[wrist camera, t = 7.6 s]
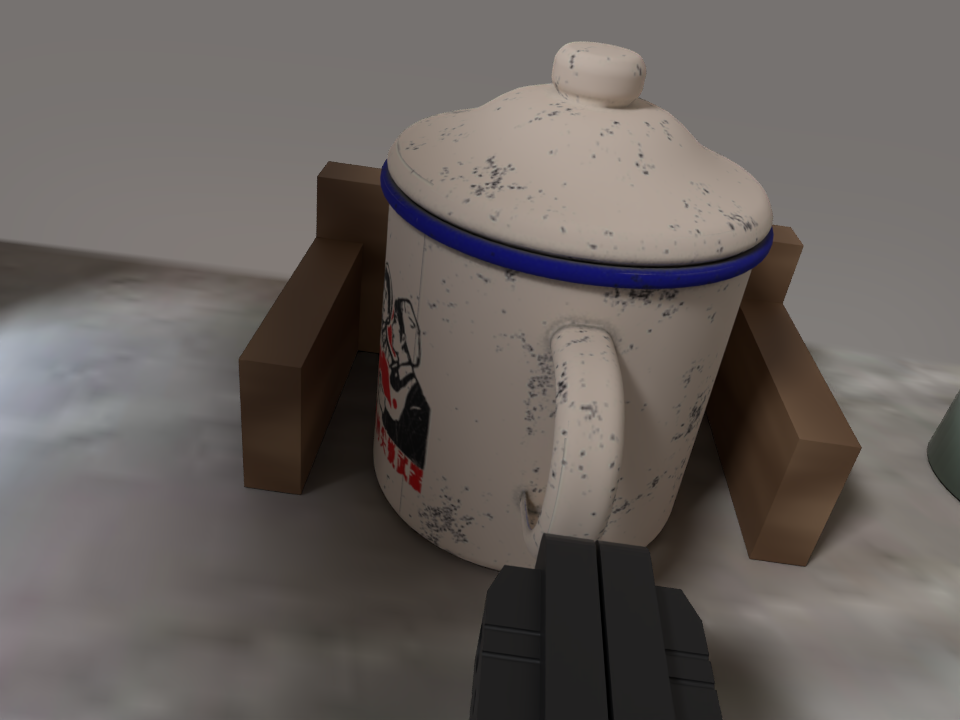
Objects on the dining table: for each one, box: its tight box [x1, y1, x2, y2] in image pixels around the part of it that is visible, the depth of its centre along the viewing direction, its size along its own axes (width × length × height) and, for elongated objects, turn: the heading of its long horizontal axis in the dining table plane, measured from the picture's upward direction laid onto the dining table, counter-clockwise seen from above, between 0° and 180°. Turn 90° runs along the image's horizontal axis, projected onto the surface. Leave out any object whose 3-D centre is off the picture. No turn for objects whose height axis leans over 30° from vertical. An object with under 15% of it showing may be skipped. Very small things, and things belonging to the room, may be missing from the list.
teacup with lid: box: [373, 42, 774, 571], centre depth 19 cm, size 12×9×12 cm
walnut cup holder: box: [239, 161, 862, 566], centre depth 23 cm, size 15×9×6 cm, turn 86°
